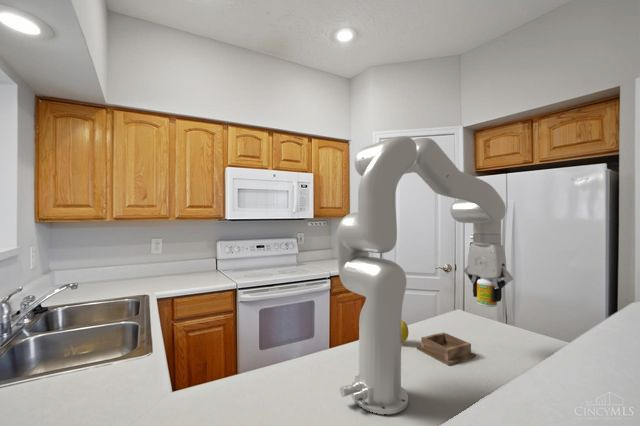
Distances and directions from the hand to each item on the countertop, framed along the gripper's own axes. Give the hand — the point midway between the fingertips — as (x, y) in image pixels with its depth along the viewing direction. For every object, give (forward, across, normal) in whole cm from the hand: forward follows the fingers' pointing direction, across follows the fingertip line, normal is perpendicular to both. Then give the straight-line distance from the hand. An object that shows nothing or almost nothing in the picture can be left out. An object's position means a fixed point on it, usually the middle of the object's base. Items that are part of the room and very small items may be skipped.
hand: (486, 298), depth 90 cm
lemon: (+17, -18, -18) cm, 31 cm away
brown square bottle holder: (+17, -6, -10) cm, 21 cm away
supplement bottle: (+2, 0, 0) cm, 2 cm away
